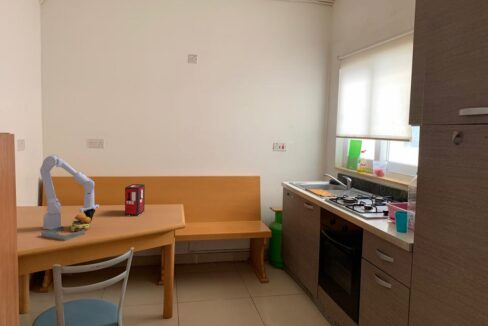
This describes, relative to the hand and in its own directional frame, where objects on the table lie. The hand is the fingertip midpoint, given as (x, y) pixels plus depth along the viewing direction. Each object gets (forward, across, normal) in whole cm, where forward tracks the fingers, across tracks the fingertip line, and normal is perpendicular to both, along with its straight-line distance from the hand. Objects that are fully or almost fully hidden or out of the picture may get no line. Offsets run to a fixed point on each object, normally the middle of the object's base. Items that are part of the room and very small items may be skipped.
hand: (89, 221), depth 231 cm
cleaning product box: (+4, +42, -3) cm, 42 cm away
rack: (+3, -20, 0) cm, 20 cm away
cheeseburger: (+4, -7, 0) cm, 8 cm away
